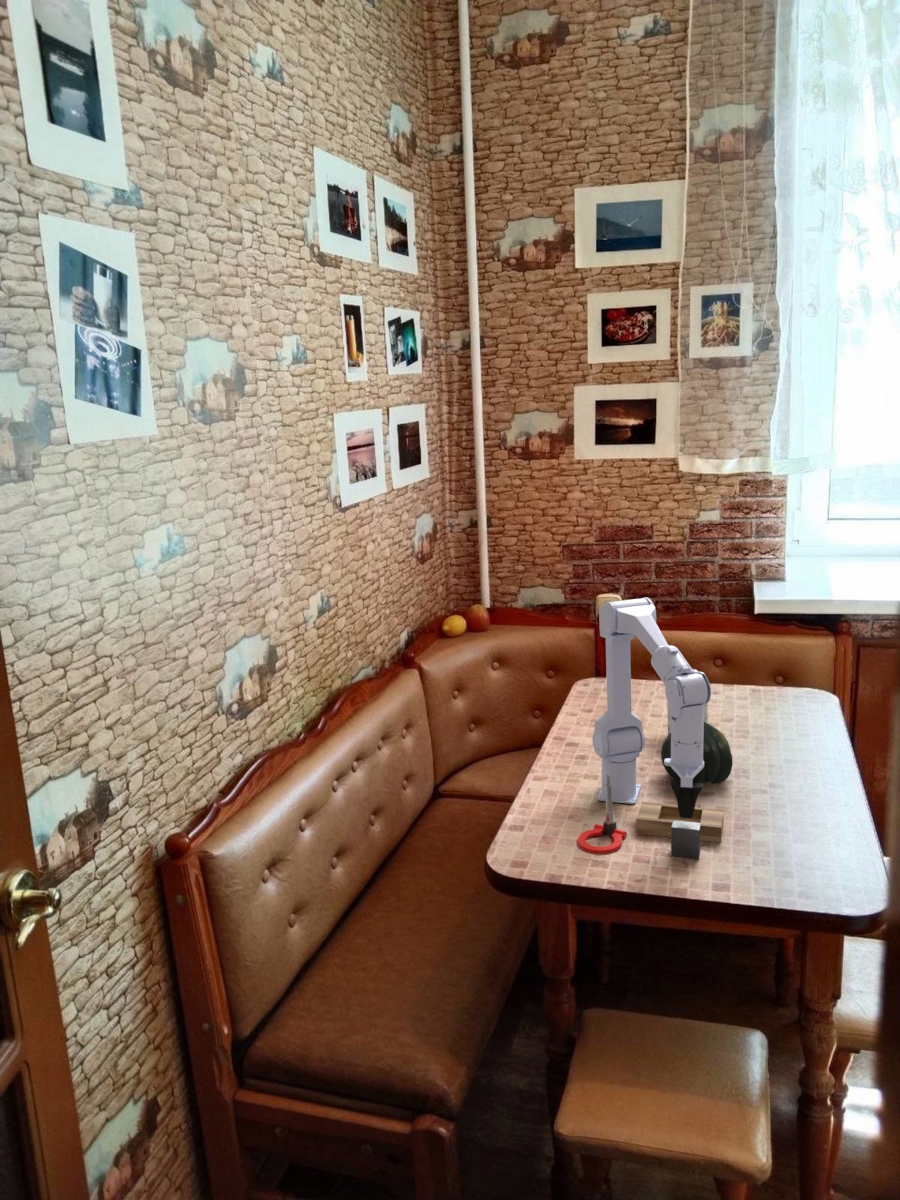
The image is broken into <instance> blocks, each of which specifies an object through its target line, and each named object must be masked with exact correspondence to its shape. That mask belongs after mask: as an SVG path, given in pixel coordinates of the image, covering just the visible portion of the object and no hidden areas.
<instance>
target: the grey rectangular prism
mask: <svg viewBox="0 0 900 1200" xmlns="http://www.w3.org/2000/svg"><path fill="white" fill-rule="evenodd" d="M700 834H701V823H695V822H686V821H676V820H673V823H672V827H671V837H670V839H671V841H670V845H671V846H670V847H671V848H670V852H671V853H670V857H671V858H676V859H686V860H695V861H700V856H701V840H700Z"/></svg>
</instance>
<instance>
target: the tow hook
mask: <svg viewBox="0 0 900 1200" xmlns="http://www.w3.org/2000/svg"><path fill="white" fill-rule="evenodd" d="M605 793H606V801H605V820H604V822H602V824H603V825H600V824H598V823H595V824H594V826H593V829H588V830H586V831H584V832H582V833H580V835H578V838H577V845H578V846H579V848H580V849H581V850H583V851H585V852H587V853H591V854H596V853H597V855H598V853H599V854H600V855H603V854H604V853H605V854H611V853H613V852H616V851H617V850H619V849H620V848H621V847H622V844H623V840H624V839H625V840H626V838H627V835H628V833H627V831H626V830H625V831H624V830H621V829H617V822H616V821H614V810H613V802H612V789H611V784H610V774H606V784H605ZM602 834H604V835H607V836H610V837H611V839H612V841H613V842H612V843H610V844H608V845H605V846H595V845H591V844H589V843H588V842H587V840H588V839H589V838H592V837H593V838H594V837H596V836H597V837H598V836H599V837H600V836H602ZM602 853H603V854H602ZM605 854H604V855H605Z"/></svg>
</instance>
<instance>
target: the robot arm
mask: <svg viewBox="0 0 900 1200" xmlns="http://www.w3.org/2000/svg"><path fill="white" fill-rule="evenodd" d="M598 610H599V611H598V619H599V623H598V624H599V636H600V637H601V638H604V639H605V662H606V663H605V665H606V669H605V670H606V671H605V673H606V711H605V712H604V713H603V714H601V716H599V717H598V718H597V719H595V721H594V730H593V734H592V747H593V750H594V752H595V754H596V755H597V756H598V757H599V758H600V759H601V788H600V791H599V793H598V796H597V797H596V800H597V801H598V802H599V801H600V802H606V793H605V784H606V774H610V784H611V789H612V803H620V804H631V805H635V804H637V800H638V797H639V794H640V790H641V788H642V785H641V784H640V783H637V758H640V753H641V752H643V751H644V748H645V746H646V737H645V735H646V734H645V733H644V732H645V731H644V728H643V727H644V726H643V721H642V720H641V718H640V717H639V716H638V715H636V714H635V713H633V712H632V671H631V670H632V668H631V665H632V664H631V641H632V640H633V639H634V638H635V637H636V638H637V639H638V640H639V641H640V643H641V644H642V645H643V647H644V648H645V649H646V650H647V651H648V652H649V653H650V655H651V659H650V664H651V667H652V668H653V669H654V671H655V672H656V674H657V675H658V677H659V678H660V680H661V681H662V683H663V685H664V686H665V687H664V692H665V693H664V694H665V698H666V700H667V701H666V702H668V711H669V714H670V715H671V758H666V759H664V765H665V766H671V767H672V769H673V770H674V772H675V774H676V778H677V780H674V779H673V778H671V779H670V788H671V790H672V792H673V794H674V796H675V799H676V805H678V810H679V815H680V818H692V817H693V813H694V809H695V807H696V805H697V799H698V797H699V795H700V793H701V792H702V790H703V787H704V782H703V783H696V780H697V777H698V774H699V772H700V771H701V770H702V769H703V768H704V761H703V737H704V705H703V704H707V703H708V704H709V702H710V701H711V697H712V687H711V683H710V681H709V679H708V677H707V675H706V674H705V673H704V672H703V671H698V670H697V669H693V668H692V666H691V665H690V664H689V662H688V661H687V660H686V658H685V657H684V655H683V654H682V652H681V651H680V650H679V648H678V647H676V646H674V645H669V643H668V642H667V640H666V638H665V637H664V635H663V632H662V631H661V630H660V627H659V625H658V624H657V609H656V606H655V605H654V602H653V601H652V599H650V598H649V597H646V596H644V597H641V598H634V599H624V600H615V601H605V602H604V603H603V604H602V605H601V606H600V607H599V609H598Z"/></svg>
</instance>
